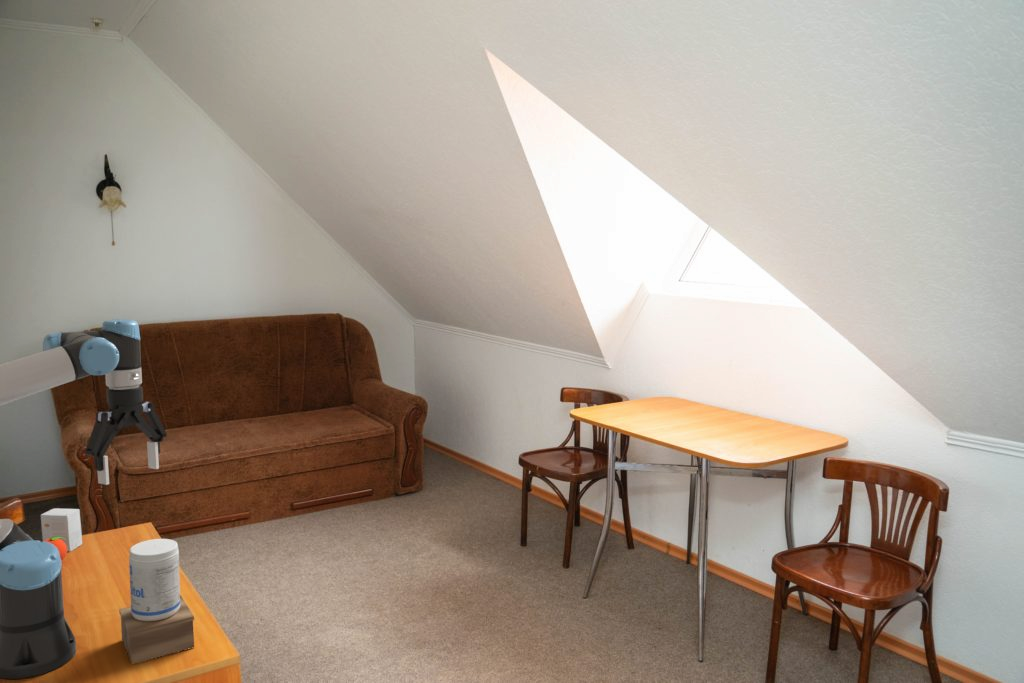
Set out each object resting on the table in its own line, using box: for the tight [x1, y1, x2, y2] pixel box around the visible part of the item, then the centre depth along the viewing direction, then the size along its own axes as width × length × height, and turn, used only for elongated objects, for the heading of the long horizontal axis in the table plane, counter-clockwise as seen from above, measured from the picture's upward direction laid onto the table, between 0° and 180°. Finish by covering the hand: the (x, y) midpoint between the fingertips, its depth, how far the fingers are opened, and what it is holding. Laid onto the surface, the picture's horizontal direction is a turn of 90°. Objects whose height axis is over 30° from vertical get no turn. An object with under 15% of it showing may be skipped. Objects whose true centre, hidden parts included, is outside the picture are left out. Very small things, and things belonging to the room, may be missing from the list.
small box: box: [40, 507, 83, 553], centre depth 221 cm, size 8×6×10 cm
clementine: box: [45, 537, 69, 562], centre depth 210 cm, size 8×7×7 cm
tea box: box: [118, 594, 195, 665], centre depth 169 cm, size 12×12×7 cm
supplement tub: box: [128, 538, 181, 621], centre depth 167 cm, size 10×10×15 cm
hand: (129, 475), depth 185 cm, fingers open, 13 cm apart
